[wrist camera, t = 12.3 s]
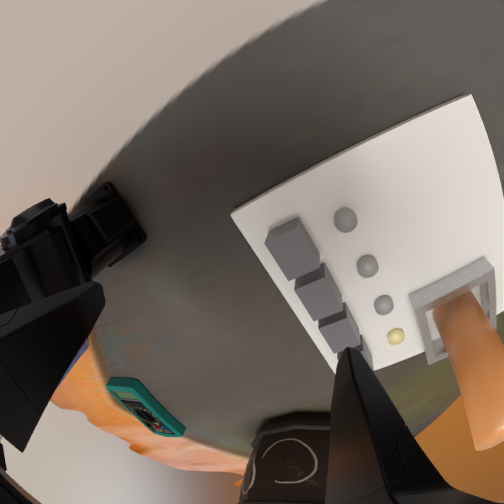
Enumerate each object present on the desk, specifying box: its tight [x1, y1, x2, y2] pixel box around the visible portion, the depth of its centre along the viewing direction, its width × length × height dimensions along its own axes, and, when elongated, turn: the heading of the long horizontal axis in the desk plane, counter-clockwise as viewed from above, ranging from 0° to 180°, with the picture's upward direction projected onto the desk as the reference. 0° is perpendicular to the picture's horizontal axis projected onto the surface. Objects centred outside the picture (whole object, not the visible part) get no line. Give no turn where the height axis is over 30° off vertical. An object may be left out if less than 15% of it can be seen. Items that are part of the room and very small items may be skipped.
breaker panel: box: [230, 94, 504, 375], centre depth 19 cm, size 20×20×3 cm
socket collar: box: [408, 256, 496, 365], centre depth 19 cm, size 8×8×2 cm
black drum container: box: [238, 413, 331, 504], centre depth 28 cm, size 18×18×16 cm
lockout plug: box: [433, 290, 504, 451], centre depth 14 cm, size 4×4×13 cm
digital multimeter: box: [106, 378, 186, 437], centre depth 39 cm, size 7×15×3 cm, turn 23°
